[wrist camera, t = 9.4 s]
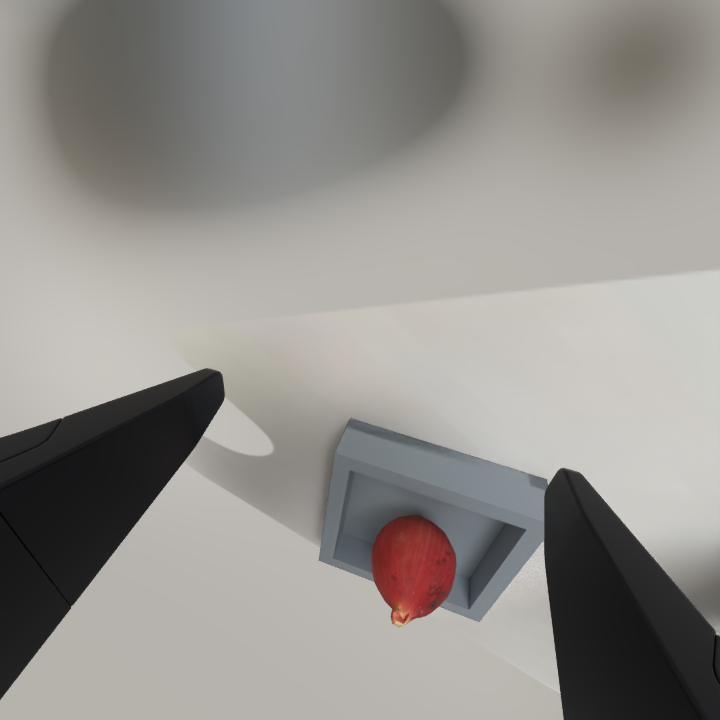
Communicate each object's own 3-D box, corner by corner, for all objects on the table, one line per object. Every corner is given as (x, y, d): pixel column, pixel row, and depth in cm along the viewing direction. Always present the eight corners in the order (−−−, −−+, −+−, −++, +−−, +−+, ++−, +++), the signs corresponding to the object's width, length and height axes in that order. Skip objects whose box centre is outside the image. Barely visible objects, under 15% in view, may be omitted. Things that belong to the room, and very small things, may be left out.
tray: (546, 479, 24) (555, 525, 21) (479, 578, 32) (479, 621, 29) (350, 418, 26) (334, 452, 24) (332, 525, 34) (318, 560, 31)
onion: (462, 499, 26) (455, 612, 19) (455, 551, 29) (447, 667, 22) (384, 484, 28) (352, 583, 21) (384, 534, 30) (356, 638, 24)
